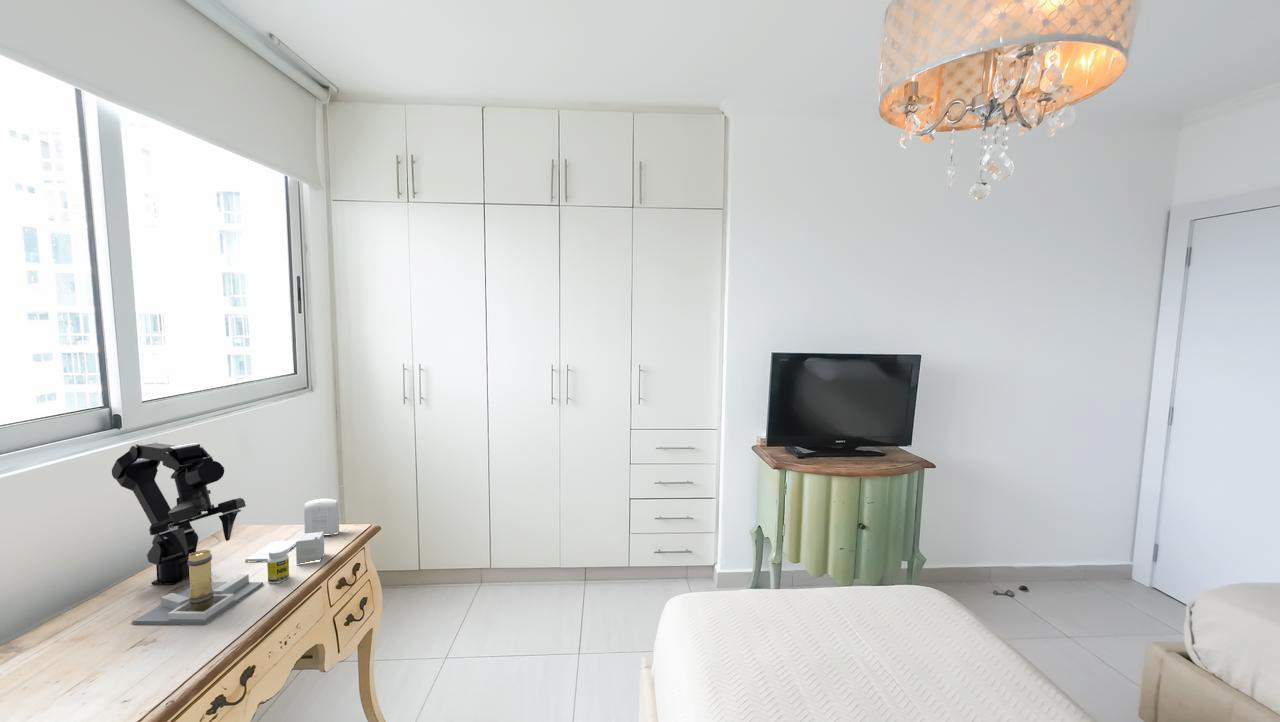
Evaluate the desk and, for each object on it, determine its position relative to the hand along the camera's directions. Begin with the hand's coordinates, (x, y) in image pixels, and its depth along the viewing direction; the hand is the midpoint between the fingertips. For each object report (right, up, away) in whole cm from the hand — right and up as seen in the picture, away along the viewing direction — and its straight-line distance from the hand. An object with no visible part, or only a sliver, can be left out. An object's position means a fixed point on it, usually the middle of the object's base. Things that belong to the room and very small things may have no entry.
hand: (207, 547), depth 129 cm
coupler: (+7, -12, -9) cm, 16 cm away
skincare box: (+15, -11, +19) cm, 26 cm away
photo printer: (+7, -10, +37) cm, 39 cm away
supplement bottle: (+14, -12, +7) cm, 19 cm away
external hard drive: (0, -11, +23) cm, 26 cm away
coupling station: (+4, -12, -5) cm, 14 cm away
